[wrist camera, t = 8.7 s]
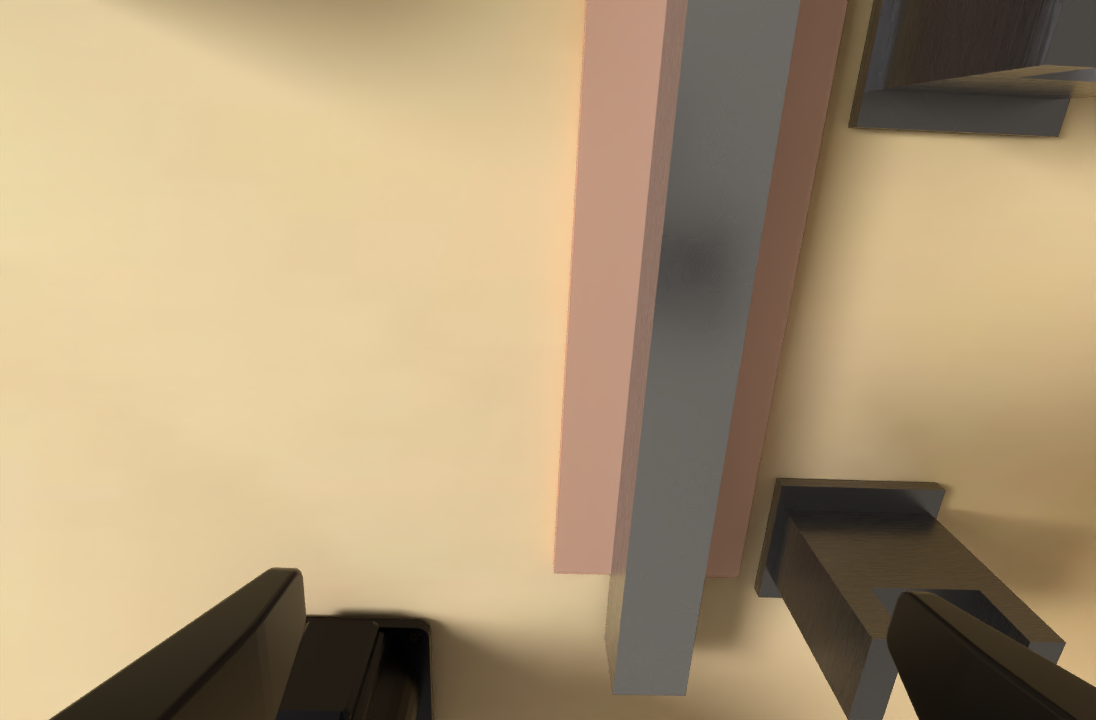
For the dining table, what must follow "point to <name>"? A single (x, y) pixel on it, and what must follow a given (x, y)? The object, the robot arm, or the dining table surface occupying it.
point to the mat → (615, 262)
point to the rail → (691, 320)
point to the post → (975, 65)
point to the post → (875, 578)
